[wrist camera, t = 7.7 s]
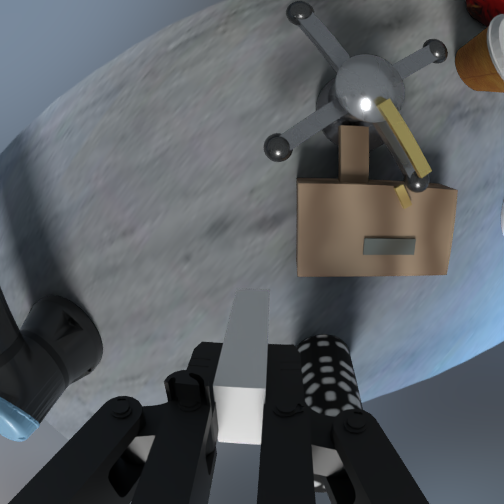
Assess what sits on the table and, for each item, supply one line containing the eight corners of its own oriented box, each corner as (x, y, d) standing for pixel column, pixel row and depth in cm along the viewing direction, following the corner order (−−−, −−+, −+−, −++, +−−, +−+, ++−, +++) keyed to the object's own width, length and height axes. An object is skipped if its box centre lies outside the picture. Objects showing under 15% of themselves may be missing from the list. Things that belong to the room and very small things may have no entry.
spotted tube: (291, 335, 43) (290, 455, 25) (351, 332, 42) (381, 447, 24) (292, 380, 46) (290, 493, 27) (347, 377, 45) (366, 488, 26)
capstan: (214, 80, 33) (185, 57, 23) (361, -8, 27) (385, -52, 17) (323, 229, 38) (337, 264, 27) (460, 137, 32) (514, 141, 21)
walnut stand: (296, 260, 40) (297, 278, 34) (295, 126, 34) (297, 123, 29) (430, 259, 38) (448, 276, 33) (440, 135, 33) (462, 136, 27)
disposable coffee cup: (488, 36, 26) (539, 16, 15) (507, 101, 29) (564, 98, 18) (434, 35, 28) (481, 6, 17) (456, 105, 31) (511, 98, 20)
